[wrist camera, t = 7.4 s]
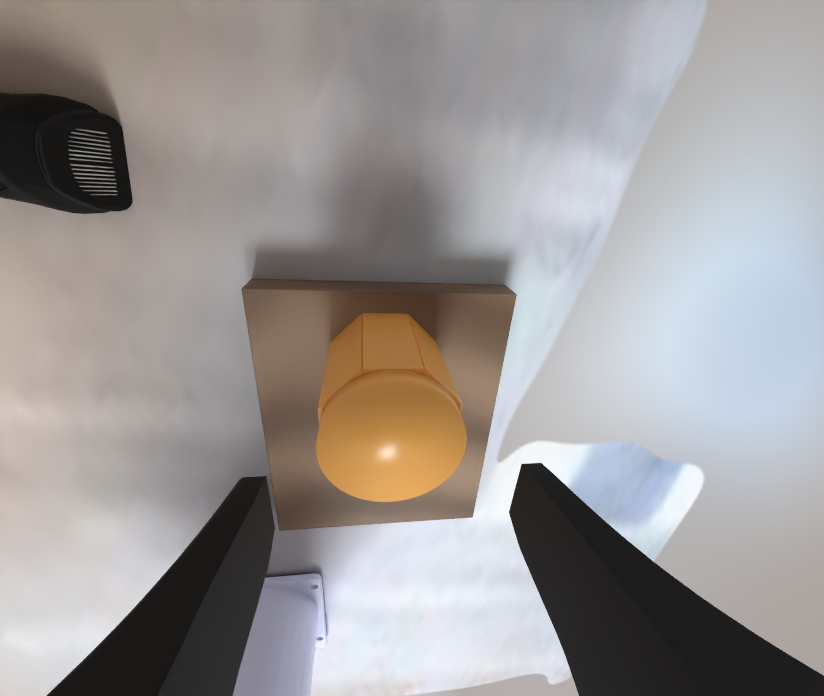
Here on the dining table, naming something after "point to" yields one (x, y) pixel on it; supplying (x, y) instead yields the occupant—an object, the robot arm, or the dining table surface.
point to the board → (304, 370)
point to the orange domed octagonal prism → (388, 411)
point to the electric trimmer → (62, 155)
